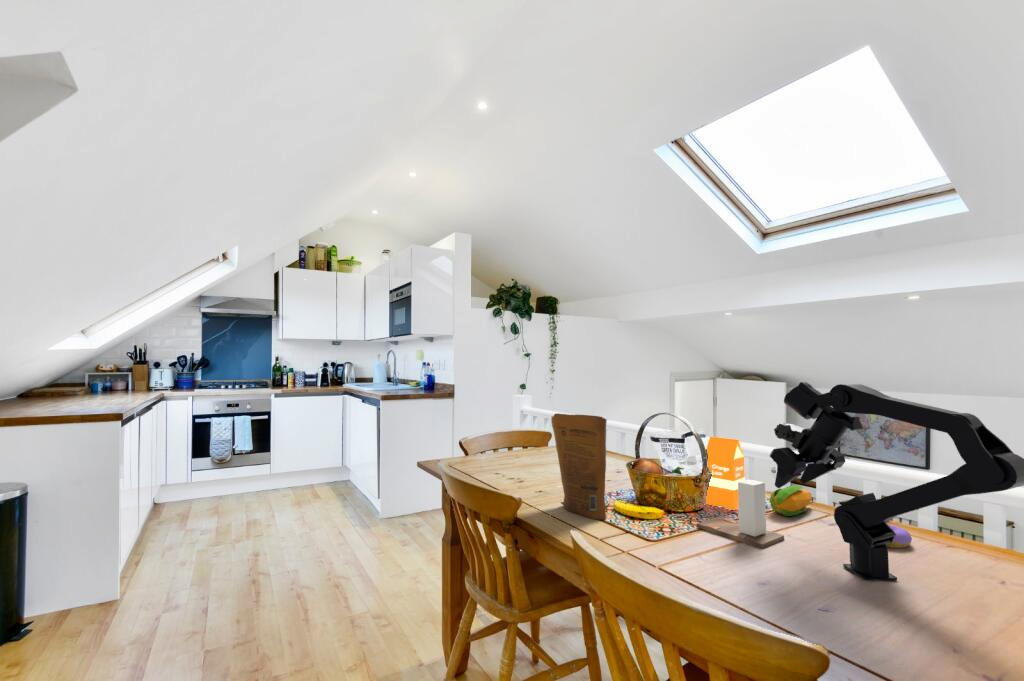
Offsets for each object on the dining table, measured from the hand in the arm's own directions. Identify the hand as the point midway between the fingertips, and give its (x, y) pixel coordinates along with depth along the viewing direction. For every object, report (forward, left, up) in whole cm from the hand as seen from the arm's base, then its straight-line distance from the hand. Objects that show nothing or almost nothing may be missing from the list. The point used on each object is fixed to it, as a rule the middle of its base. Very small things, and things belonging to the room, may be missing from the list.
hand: (789, 484), depth 111 cm
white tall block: (+5, +6, -13) cm, 15 cm away
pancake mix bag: (+23, +46, -14) cm, 53 cm away
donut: (+3, -24, -15) cm, 28 cm away
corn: (+26, -15, -14) cm, 33 cm away
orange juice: (+31, +2, -14) cm, 35 cm away
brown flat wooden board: (+8, +8, -14) cm, 18 cm away
